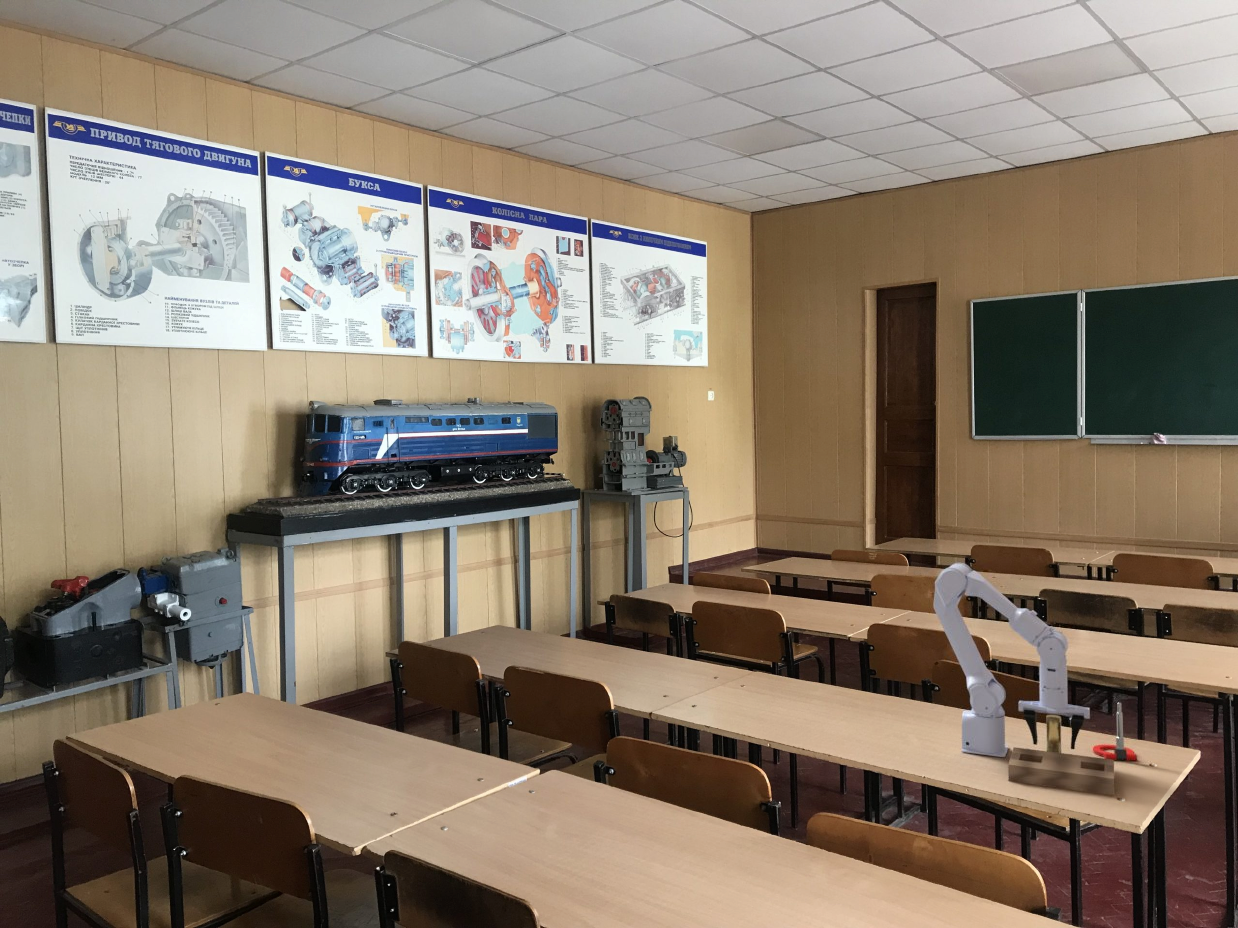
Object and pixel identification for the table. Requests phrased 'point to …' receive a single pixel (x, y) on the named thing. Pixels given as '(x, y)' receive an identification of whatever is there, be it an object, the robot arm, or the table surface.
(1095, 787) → the hole block
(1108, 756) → the tow hook
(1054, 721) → the brass pin
